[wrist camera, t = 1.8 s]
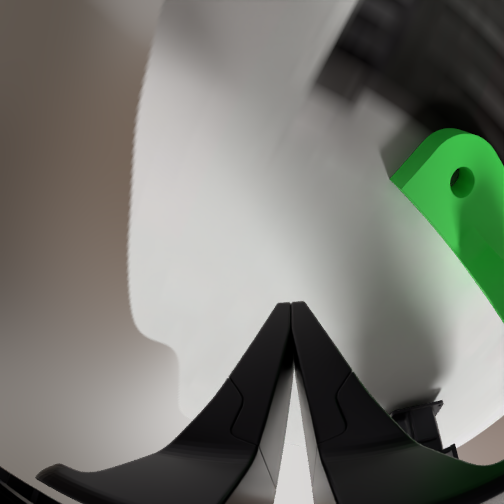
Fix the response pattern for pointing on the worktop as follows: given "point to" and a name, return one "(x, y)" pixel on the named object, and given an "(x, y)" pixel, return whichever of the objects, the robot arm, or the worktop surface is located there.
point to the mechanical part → (462, 202)
